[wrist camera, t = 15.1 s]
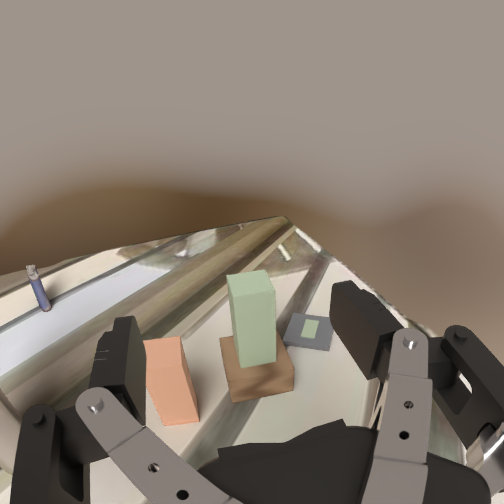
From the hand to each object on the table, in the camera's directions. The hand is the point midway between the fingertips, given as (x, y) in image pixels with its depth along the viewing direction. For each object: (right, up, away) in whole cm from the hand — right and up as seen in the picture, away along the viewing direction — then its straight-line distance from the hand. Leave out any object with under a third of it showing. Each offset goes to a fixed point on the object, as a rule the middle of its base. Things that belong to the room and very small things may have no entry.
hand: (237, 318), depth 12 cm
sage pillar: (+1, -12, +32) cm, 34 cm away
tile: (+11, -12, +43) cm, 45 cm away
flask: (-50, -10, +53) cm, 74 cm away
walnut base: (+1, -16, +34) cm, 38 cm away
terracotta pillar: (-10, -20, +28) cm, 36 cm away
